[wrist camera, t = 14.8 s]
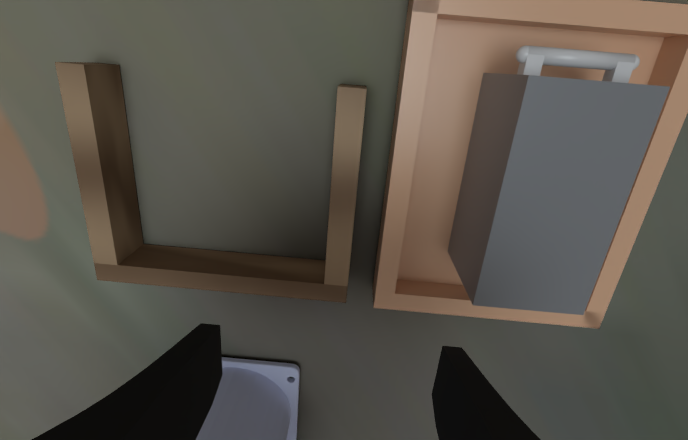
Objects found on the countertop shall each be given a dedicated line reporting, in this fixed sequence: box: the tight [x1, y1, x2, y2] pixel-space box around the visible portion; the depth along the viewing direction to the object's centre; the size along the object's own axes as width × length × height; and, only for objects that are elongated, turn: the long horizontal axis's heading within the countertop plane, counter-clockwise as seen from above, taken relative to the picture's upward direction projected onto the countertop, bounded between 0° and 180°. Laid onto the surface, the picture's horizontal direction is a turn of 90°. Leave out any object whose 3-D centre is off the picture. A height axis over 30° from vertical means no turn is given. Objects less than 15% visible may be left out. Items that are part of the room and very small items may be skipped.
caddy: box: [448, 45, 670, 315], centre depth 16 cm, size 10×5×5 cm, turn 176°
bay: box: [55, 62, 367, 303], centre depth 19 cm, size 10×13×2 cm
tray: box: [373, 0, 688, 329], centre depth 18 cm, size 15×12×2 cm
